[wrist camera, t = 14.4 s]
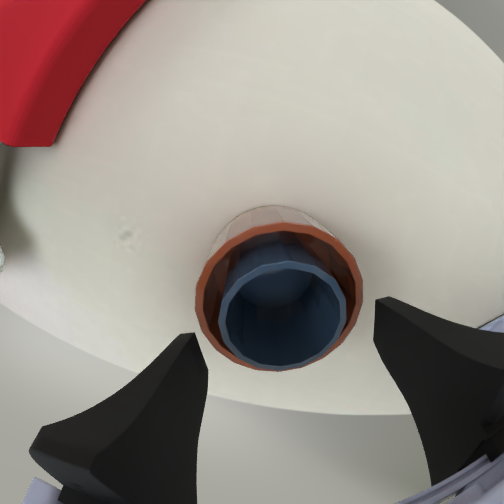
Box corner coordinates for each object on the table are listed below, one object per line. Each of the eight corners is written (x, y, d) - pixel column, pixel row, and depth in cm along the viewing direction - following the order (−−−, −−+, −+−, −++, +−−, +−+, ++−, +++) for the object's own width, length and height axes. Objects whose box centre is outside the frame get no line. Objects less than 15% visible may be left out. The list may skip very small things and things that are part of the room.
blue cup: (319, 300, 17) (346, 357, 12) (238, 314, 18) (234, 377, 12) (310, 220, 16) (343, 250, 10) (220, 236, 16) (204, 275, 10)
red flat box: (-25, 89, 11) (-56, 87, 6) (47, -26, 7) (23, -42, 3) (55, 146, 14) (7, 147, 9) (168, -16, 10) (149, -55, 6)
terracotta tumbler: (337, 310, 18) (361, 354, 13) (224, 330, 18) (218, 379, 14) (327, 195, 16) (359, 209, 11) (196, 218, 16) (175, 241, 11)
